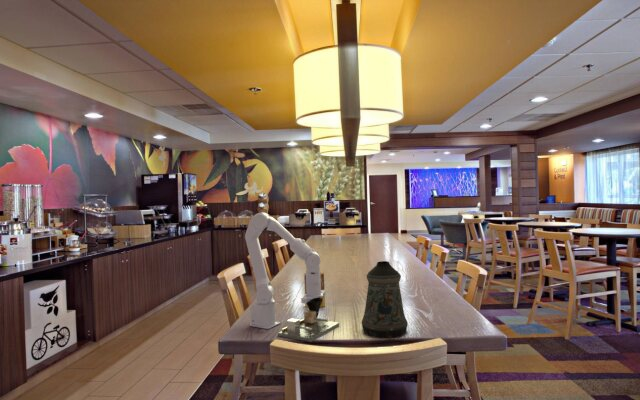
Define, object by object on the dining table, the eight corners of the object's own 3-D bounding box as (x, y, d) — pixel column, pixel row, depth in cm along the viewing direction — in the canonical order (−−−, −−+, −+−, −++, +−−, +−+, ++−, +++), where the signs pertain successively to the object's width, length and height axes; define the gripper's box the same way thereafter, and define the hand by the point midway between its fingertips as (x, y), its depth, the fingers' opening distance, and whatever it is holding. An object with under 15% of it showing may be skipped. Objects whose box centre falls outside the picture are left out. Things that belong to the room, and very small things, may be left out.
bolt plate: (278, 335, 153) (277, 329, 153) (309, 320, 170) (308, 315, 170) (310, 342, 146) (310, 335, 146) (339, 325, 163) (339, 320, 163)
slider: (304, 322, 164) (304, 312, 164) (308, 320, 166) (308, 310, 166) (325, 325, 158) (325, 315, 158) (330, 323, 161) (329, 313, 161)
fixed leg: (287, 331, 154) (286, 320, 154) (292, 329, 157) (291, 318, 157) (309, 335, 149) (308, 324, 149) (314, 333, 152) (313, 321, 152)
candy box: (324, 304, 195) (323, 271, 195) (325, 306, 191) (324, 272, 191) (305, 305, 194) (303, 272, 194) (305, 308, 190) (304, 273, 190)
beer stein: (367, 340, 146) (364, 267, 145) (356, 323, 165) (354, 259, 165) (414, 337, 147) (411, 265, 147) (398, 320, 167) (396, 257, 166)
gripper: (311, 287, 158) (313, 324, 158) (331, 280, 170) (332, 314, 171) (296, 285, 162) (297, 321, 162) (316, 278, 174) (317, 311, 174)
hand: (314, 317), depth 167 cm, fingers closed
